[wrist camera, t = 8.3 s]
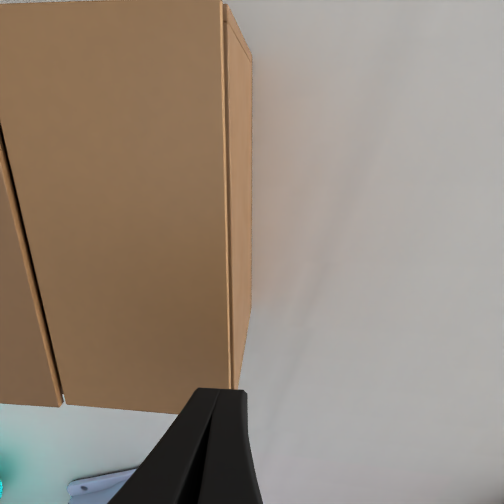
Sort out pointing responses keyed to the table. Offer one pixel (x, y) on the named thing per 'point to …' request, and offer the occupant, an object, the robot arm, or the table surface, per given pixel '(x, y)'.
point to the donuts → (1, 488)
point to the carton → (24, 276)
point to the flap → (123, 191)
